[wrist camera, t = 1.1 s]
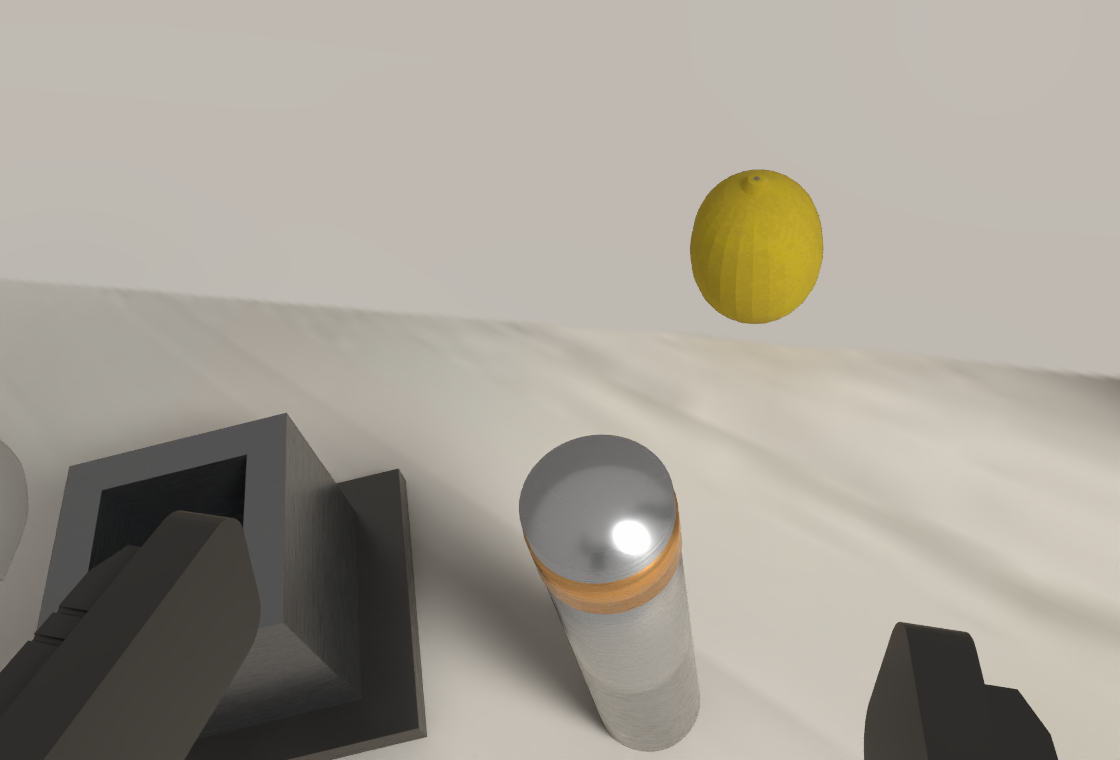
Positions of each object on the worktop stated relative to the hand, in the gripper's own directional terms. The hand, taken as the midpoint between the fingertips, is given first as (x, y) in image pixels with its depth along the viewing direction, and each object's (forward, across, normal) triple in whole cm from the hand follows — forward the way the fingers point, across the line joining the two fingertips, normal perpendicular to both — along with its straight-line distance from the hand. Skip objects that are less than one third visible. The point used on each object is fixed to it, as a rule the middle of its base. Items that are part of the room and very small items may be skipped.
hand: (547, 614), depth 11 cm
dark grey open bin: (+14, +14, +20) cm, 28 cm away
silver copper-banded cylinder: (+13, -1, +18) cm, 22 cm away
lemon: (+30, -4, +12) cm, 32 cm away
